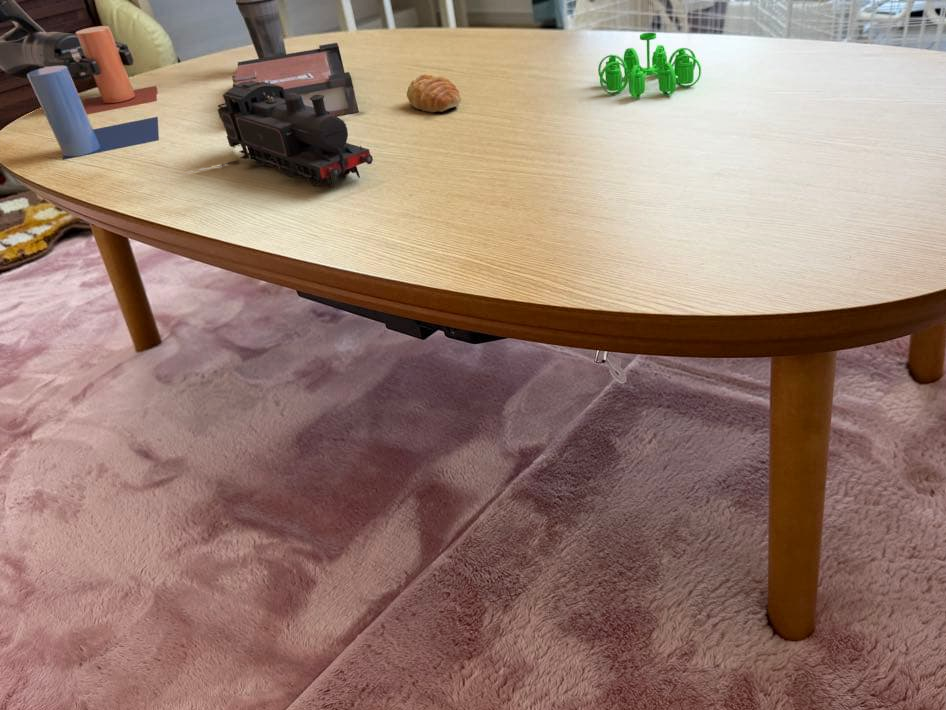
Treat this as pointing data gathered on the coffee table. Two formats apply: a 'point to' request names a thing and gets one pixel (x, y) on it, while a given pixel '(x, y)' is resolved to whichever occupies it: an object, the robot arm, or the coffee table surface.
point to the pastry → (433, 93)
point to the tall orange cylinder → (106, 64)
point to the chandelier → (649, 70)
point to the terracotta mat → (140, 98)
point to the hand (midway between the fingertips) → (113, 63)
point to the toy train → (289, 132)
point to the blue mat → (126, 135)
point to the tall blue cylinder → (64, 110)
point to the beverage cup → (263, 26)
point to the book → (305, 77)
